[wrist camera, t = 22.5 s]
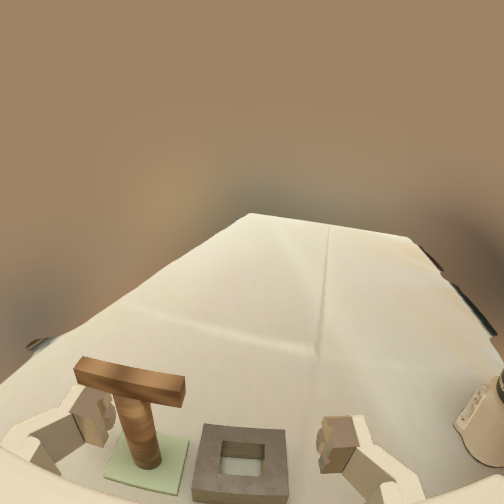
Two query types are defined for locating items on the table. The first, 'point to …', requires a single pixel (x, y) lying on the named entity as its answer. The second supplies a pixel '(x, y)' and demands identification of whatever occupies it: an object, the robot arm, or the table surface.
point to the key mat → (155, 479)
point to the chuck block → (241, 446)
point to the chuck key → (134, 401)
